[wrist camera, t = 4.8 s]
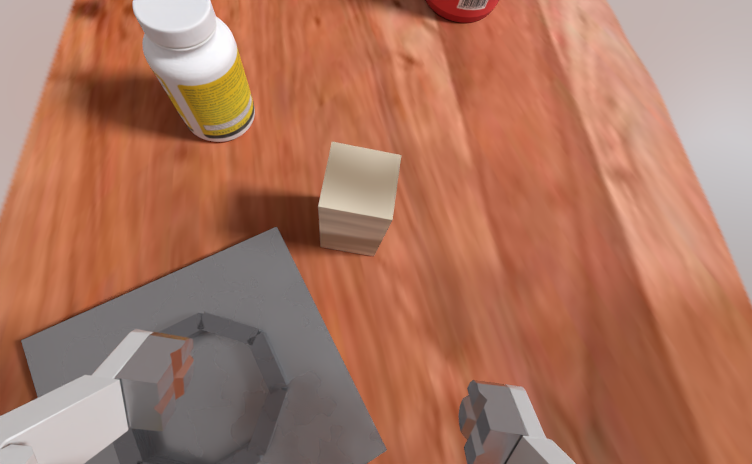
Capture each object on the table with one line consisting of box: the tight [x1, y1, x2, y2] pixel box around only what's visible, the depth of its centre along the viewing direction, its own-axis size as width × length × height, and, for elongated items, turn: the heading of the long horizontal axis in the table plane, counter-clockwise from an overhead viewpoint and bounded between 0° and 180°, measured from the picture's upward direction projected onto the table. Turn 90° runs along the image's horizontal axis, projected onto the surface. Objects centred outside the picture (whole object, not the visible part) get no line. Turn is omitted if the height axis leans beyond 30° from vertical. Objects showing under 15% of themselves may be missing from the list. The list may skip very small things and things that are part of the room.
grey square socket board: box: [21, 227, 387, 464], centre depth 21 cm, size 16×16×3 cm
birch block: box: [318, 142, 401, 256], centre depth 24 cm, size 4×4×8 cm
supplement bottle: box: [133, 0, 255, 142], centre depth 24 cm, size 5×5×10 cm
